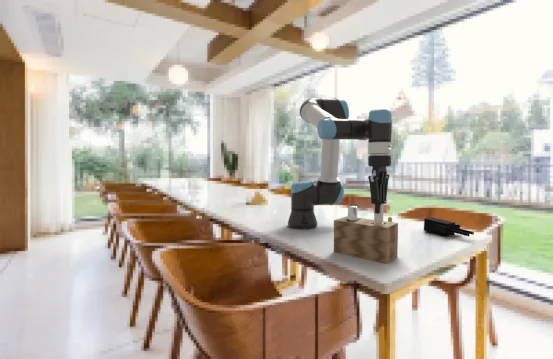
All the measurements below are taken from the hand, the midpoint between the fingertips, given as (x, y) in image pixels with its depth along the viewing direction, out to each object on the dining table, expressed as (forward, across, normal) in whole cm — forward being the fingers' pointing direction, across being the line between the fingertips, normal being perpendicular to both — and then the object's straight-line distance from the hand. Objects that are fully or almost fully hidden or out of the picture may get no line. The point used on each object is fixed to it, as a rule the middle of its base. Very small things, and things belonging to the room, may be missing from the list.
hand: (378, 222), depth 108 cm
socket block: (+12, 0, +5) cm, 13 cm away
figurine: (+13, +36, +18) cm, 43 cm away
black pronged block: (+13, +49, -12) cm, 52 cm away
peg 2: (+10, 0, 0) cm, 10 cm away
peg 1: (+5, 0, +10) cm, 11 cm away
